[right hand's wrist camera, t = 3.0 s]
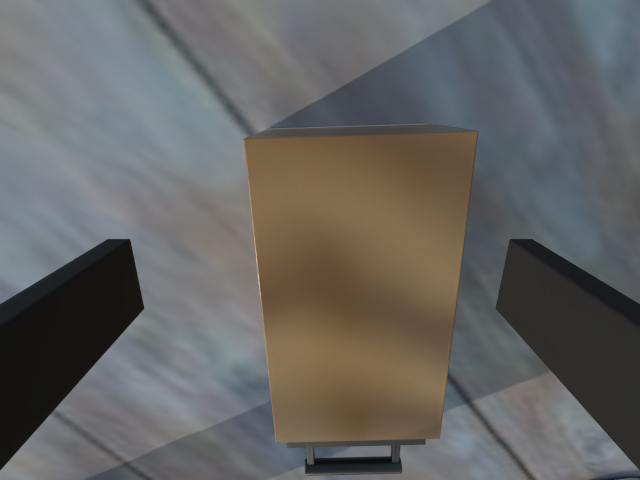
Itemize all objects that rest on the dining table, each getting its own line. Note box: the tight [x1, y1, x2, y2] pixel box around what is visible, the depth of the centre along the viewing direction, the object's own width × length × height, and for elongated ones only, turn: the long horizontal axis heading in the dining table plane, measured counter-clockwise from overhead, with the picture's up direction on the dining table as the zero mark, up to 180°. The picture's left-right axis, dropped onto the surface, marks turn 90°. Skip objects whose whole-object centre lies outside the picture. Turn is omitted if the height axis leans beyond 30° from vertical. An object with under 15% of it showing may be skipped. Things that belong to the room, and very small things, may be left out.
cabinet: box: [244, 123, 478, 443], centre depth 24 cm, size 20×11×8 cm, turn 2°
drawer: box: [287, 439, 426, 476], centre depth 26 cm, size 25×10×6 cm, turn 2°
